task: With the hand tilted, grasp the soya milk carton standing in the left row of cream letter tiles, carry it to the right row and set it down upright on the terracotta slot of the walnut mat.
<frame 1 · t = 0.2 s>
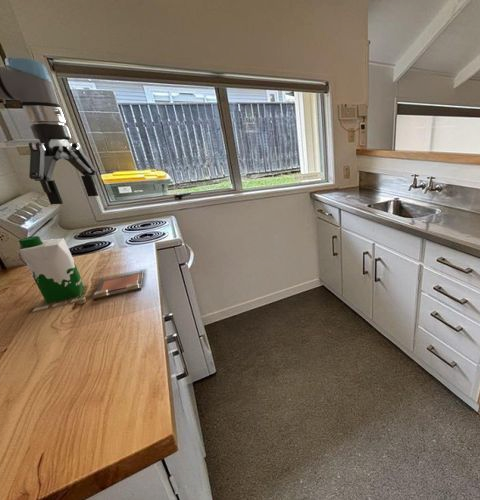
hand: (76, 199, 87), 28 cm above the counter, tool pointing down, fingers open, 13 cm apart
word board: (96, 291, 91), on the counter
soya milk: (67, 298, 88), on the counter
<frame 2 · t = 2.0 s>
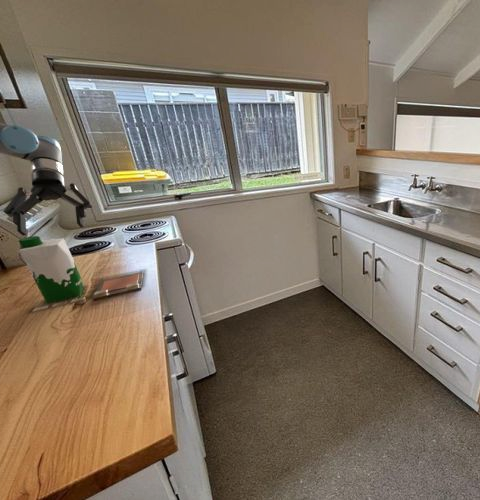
hand: (52, 229, 89), 20 cm above the counter, tool tilted 45°, fingers open, 13 cm apart
nothing on the counter moved.
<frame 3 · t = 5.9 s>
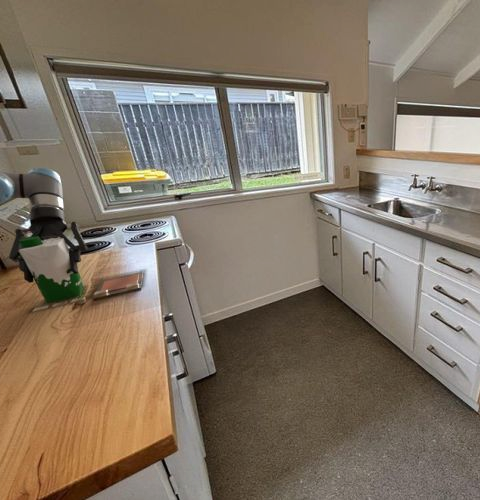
hand: (52, 276, 82), 9 cm above the counter, tool tilted 45°, fingers closed on soya milk, 9 cm apart
soya milk: (67, 298, 88), on the counter, touching gripper
when the fingers open (10 cm above the counter, at t = 13.7 s): soya milk stays where it is, resting on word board.
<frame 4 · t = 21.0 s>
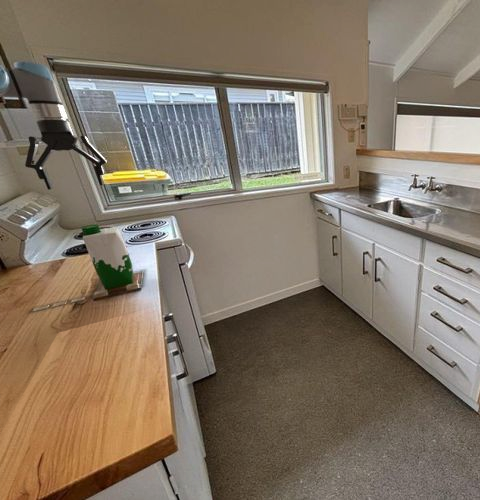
hand: (77, 186, 98), 31 cm above the counter, tool pointing down, fingers open, 13 cm apart
soya milk: (120, 283, 94), point 1 cm above the counter, touching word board
at the end: soya milk 0.1 cm from the target spot, point 0.8 cm above the counter; soya milk tilted 0°; the gripper is holding nothing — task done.
